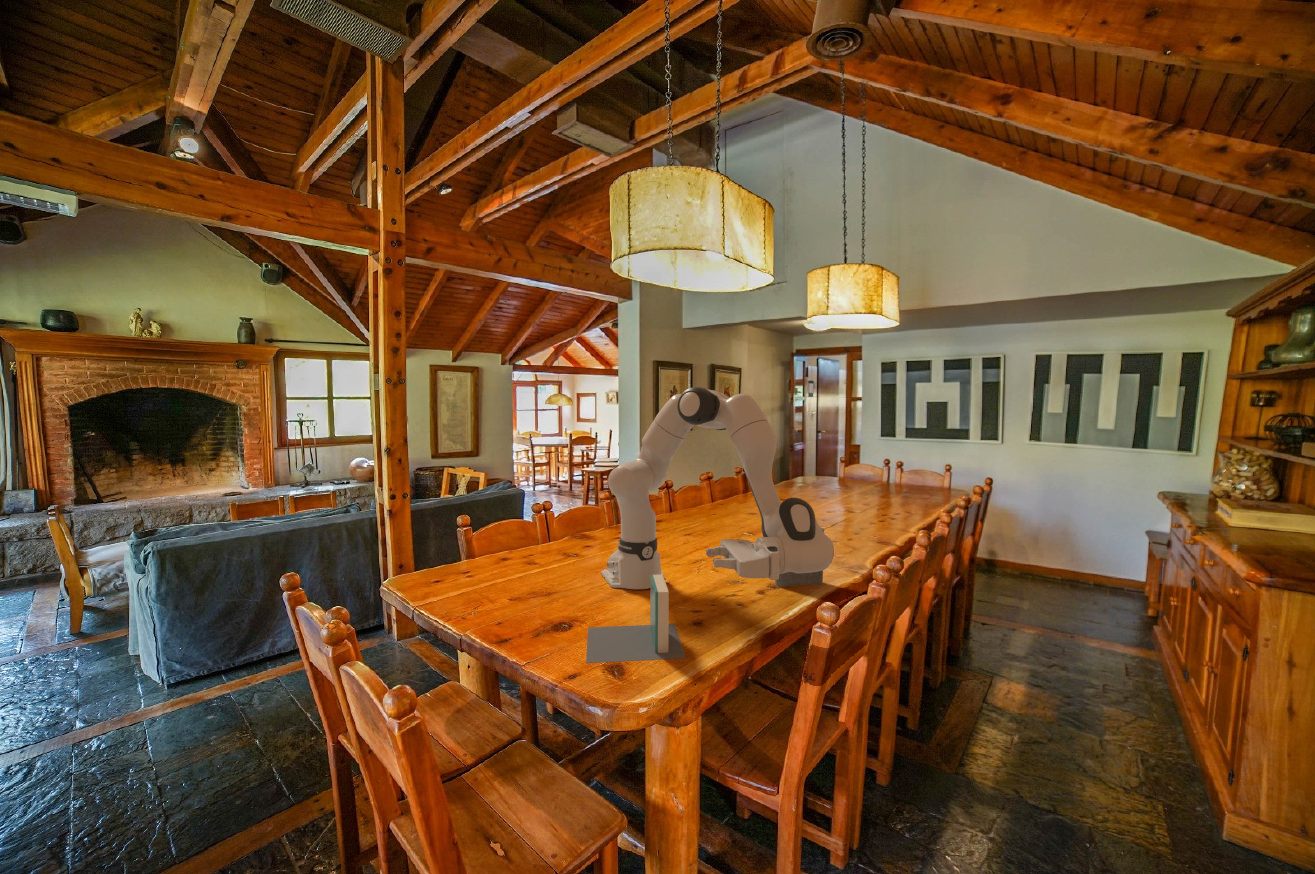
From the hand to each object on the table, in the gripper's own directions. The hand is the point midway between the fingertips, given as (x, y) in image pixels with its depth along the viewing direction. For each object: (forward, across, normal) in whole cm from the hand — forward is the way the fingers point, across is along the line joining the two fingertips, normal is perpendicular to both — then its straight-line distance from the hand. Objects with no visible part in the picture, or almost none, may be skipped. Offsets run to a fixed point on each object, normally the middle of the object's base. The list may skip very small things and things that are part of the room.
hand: (710, 557), depth 123 cm
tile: (+12, 0, +20) cm, 23 cm away
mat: (+18, 0, +20) cm, 27 cm away
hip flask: (-36, -36, +20) cm, 55 cm away
